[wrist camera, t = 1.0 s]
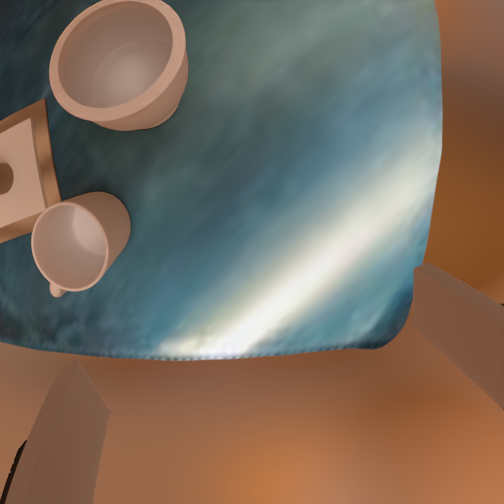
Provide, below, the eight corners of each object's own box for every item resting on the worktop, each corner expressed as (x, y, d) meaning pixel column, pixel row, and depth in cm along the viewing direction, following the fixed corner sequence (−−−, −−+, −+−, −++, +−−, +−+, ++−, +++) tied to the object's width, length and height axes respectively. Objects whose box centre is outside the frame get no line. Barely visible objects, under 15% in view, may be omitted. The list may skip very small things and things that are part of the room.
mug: (99, 292, 35) (73, 334, 25) (50, 257, 32) (11, 288, 23) (145, 215, 33) (125, 236, 24) (90, 177, 31) (52, 184, 21)
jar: (202, 119, 31) (205, 87, 17) (117, 152, 31) (64, 146, 17) (176, 42, 28) (166, -25, 14) (95, 75, 27) (40, 30, 13)
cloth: (-35, 144, 25) (-36, 144, 24) (45, 98, 27) (44, 98, 26) (-15, 248, 30) (-16, 249, 29) (66, 220, 32) (65, 220, 31)
